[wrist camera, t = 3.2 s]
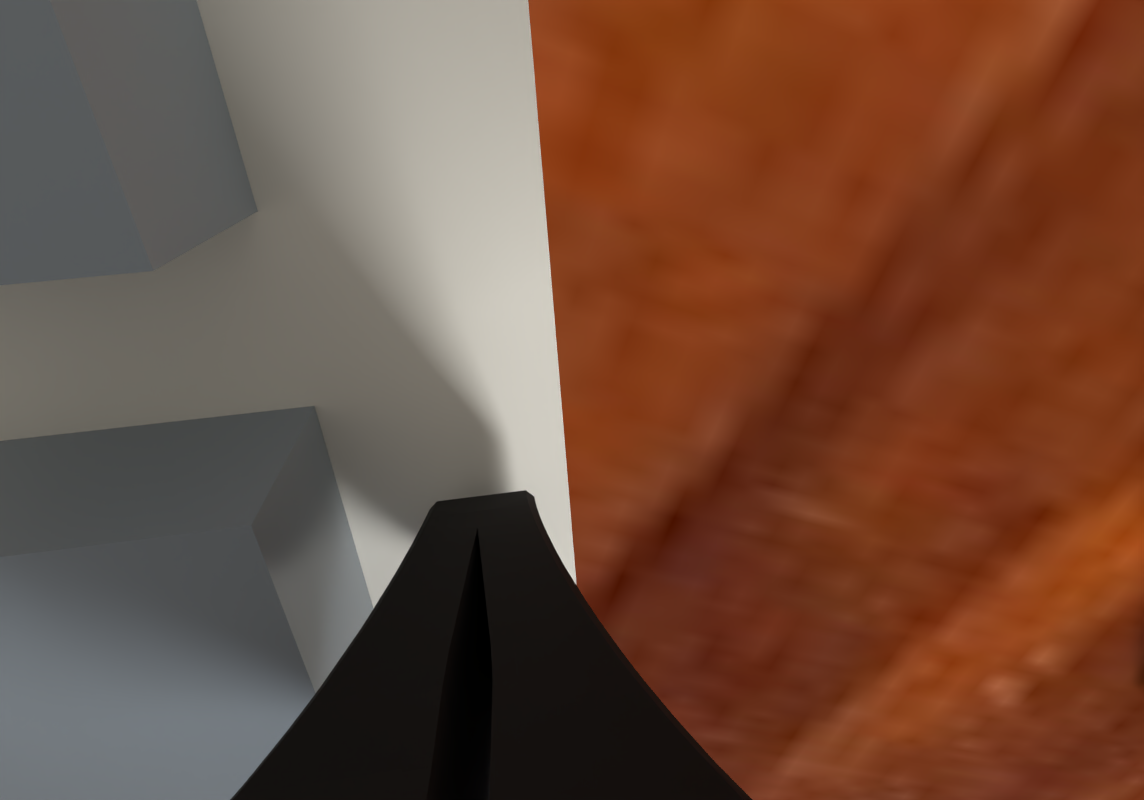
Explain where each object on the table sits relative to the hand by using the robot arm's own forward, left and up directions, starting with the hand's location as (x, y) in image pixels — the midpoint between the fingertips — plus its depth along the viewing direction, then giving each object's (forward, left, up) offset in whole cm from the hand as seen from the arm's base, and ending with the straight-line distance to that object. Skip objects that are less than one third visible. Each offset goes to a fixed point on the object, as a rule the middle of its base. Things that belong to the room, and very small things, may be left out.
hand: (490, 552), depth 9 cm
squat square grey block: (0, +4, -1) cm, 4 cm away
